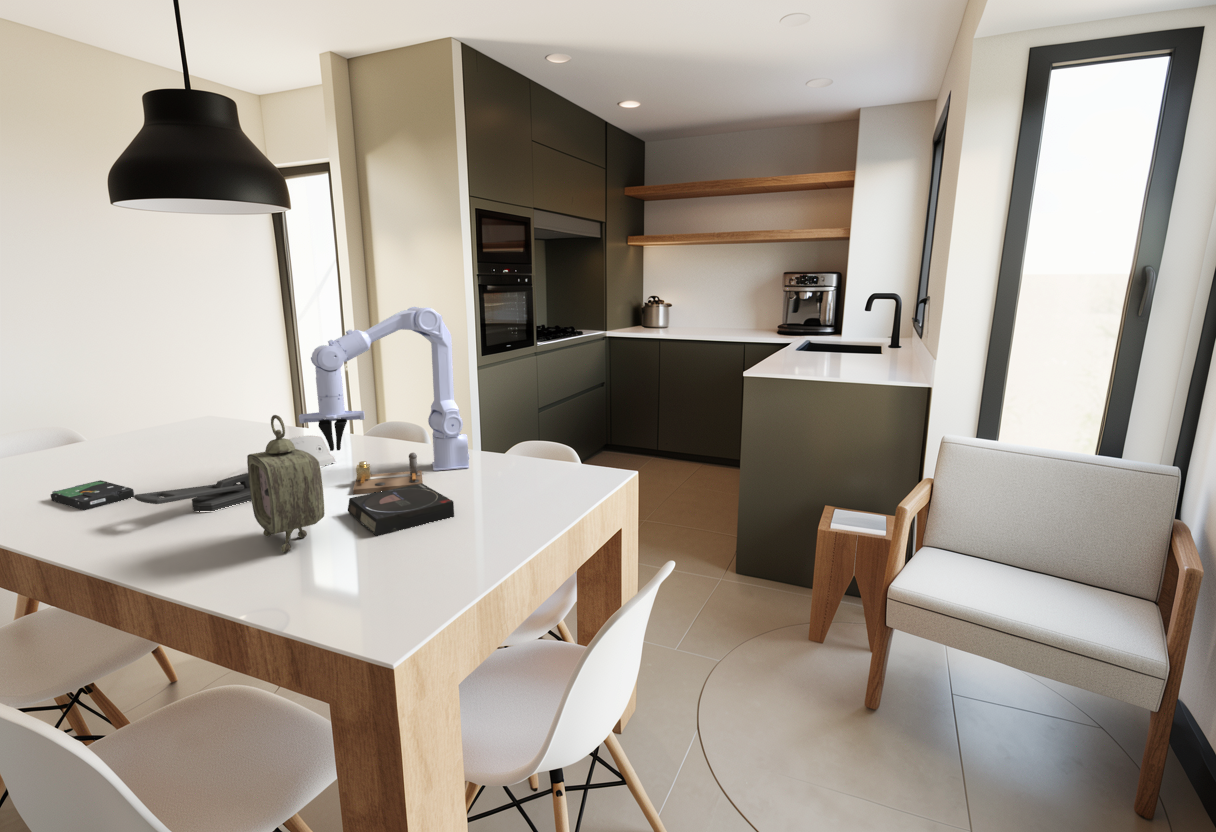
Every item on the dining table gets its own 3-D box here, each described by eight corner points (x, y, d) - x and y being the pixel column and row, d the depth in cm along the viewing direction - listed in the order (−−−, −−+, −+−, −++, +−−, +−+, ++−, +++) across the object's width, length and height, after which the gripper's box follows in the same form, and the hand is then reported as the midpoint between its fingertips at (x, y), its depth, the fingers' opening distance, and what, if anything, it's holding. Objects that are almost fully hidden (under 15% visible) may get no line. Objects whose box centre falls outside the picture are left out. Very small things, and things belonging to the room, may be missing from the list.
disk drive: (136, 499, 145) (102, 490, 151) (134, 488, 144) (100, 479, 150) (84, 513, 136) (50, 502, 142) (82, 501, 135) (48, 491, 141)
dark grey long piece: (128, 494, 126) (242, 464, 148) (133, 525, 127) (245, 490, 150) (155, 500, 122) (267, 468, 145) (160, 531, 124) (270, 495, 146)
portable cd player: (348, 516, 134) (346, 498, 133) (422, 499, 144) (421, 483, 144) (374, 539, 121) (373, 519, 120) (454, 518, 132) (453, 501, 131)
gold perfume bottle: (370, 475, 156) (369, 460, 155) (368, 483, 149) (367, 467, 148) (358, 476, 155) (356, 461, 154) (355, 484, 148) (354, 468, 147)
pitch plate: (422, 474, 162) (420, 448, 161) (422, 488, 151) (421, 460, 150) (357, 480, 157) (355, 453, 156) (353, 494, 146) (350, 465, 145)
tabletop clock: (255, 536, 121) (240, 413, 116) (303, 524, 127) (291, 406, 122) (279, 558, 111) (263, 424, 106) (330, 544, 117) (318, 417, 112)
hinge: (285, 478, 159) (272, 442, 158) (274, 482, 161) (261, 446, 160) (337, 462, 174) (325, 429, 173) (326, 465, 176) (314, 433, 175)
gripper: (294, 399, 142) (300, 456, 145) (361, 396, 146) (365, 451, 149) (299, 394, 149) (305, 448, 151) (363, 391, 153) (367, 444, 156)
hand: (335, 449), depth 151 cm, fingers closed
